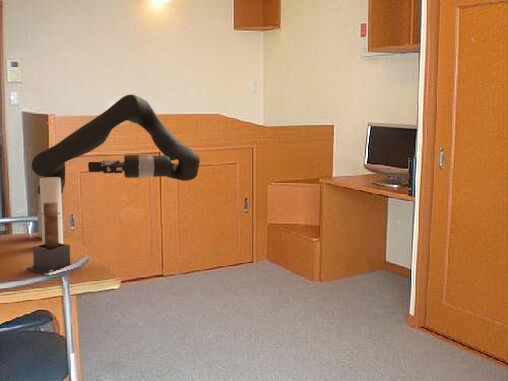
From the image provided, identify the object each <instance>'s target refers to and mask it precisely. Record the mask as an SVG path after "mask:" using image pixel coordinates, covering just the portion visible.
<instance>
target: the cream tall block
mask: <svg viewBox="0 0 508 381" xmlns="http://www.w3.org/2000/svg"><path fill="white" fill-rule="evenodd" d="M39 185H40V198H41V221H42V239H41V240H42V242H41V243H42V244H45V228H44V203H47V202H56V203H57V215H58V243H61V244H64V237H63V224H62V198H61V178H59V177H45V178H44V177H41V178H39Z"/></svg>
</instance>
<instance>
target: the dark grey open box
mask: <svg viewBox="0 0 508 381" xmlns="http://www.w3.org/2000/svg"><path fill="white" fill-rule="evenodd" d="M32 258H33V265H30V266H27V267H25V270H27V272H31V271H32V272H31V273H35V272H36V274H39V273H41V274H40V275H43V274H42V273H49V272H53V271H56V270H59V269H61V268H64V267H66V266H69V265H71V264H73V263H72V262H71V246H70V244H67V243H63V244H61V243H59V247H57V248H53V249H46V248H45V244H43V243H42V244H39V245H35V246H34V245H33V246H32Z"/></svg>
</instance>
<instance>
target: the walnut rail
mask: <svg viewBox="0 0 508 381" xmlns="http://www.w3.org/2000/svg"><path fill="white" fill-rule="evenodd" d="M44 228H45V248H46V249H53V248H57V247H59V243H58V215H57V203H56V202H47V203H44Z"/></svg>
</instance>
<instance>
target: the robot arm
mask: <svg viewBox="0 0 508 381" xmlns="http://www.w3.org/2000/svg"><path fill="white" fill-rule="evenodd" d="M127 121H128V122H131V123H134V124H137V125H138V126H140V127H141V128H142V129H144V130H145V131H146V132H147V133H148V134H149V135H150V137H151V139H152V142H153V143H154V145H155V146H156V148H158V150H159V151H160V152H161V153H162V155H148V154H125V155H124V157H123V161H122V162H121V160H117V159H114V160H112V159H111V160H104V159H103V160H101V161H89V162H88V163H87V164H88V166H87V168H88V172H89V173H102V174H123V175H124V178H126V179H135V178H136V179H137V178H138V179H140V178H154V177H155V178H157V177H160V178H161V177H166V178H170V179H174V180H179V181H183V182H187V181H192V180H194V179H195V178H197V176H198V174H199V169H200V163H201V162H200V161H201V160H200V157H199V155H198V153H197V152H196V151H195V150H194V149H192V148H190V147H188V146H187V145H185V144H183V143H182V142H181V141H180V140H179V139H178V138H177V137H176V136H175V135H174V134H173V133H172V132H171V131H170V129H169V128H167V127H166V125H164V123H163V122H162V120H160V119H159V117H158V116H157V113H156V112H155V111H154V109H153V108H152V106H151V105H150V103H149V102H148V101H147V100H146V99H144V98H142V97H140V96H137V95H135V94H126V95H124V96H122V97H121V98H120V99H118V100H117V101H116V102H115V103H114V104H113V105H111V106H110V107H109V108H107V110H105V111H104V112H102V113H100V114H99V115H97V116H95V118H93V119H92V120H90V121H88V122H87V123H85V124H83V125H82V126H81V127H79V128H77V129H76V130H75V131H74V132H72V133H70V134H69V135H67V136H66V137H65V138H64V139H62V140H60V142H58V143H57V144H55V145H53V146H51V147H49V148H47V149H45V150H43V151H41V152H38V153H37V154H36V155H35V156H34V157H33V159H32V161H31V170H32V171H33V173H35V175H37V176H40V177H43V178H45V177H59V178H61V198H62V224H63V238H65V237H66V233H65V232H66V231H65V229H66V228H65V226H66V225H65V224H66V223H65V207H64V206H65V203H64V188H65V184H66V163H67V162H68V161H70V160H74V159H75V158H79V157H81V156H83V155H85V154H88V153H90V152H92V151H93V150H95V149H97V148H98V147H99V146H102V145H103V144H104V143H105V142H106V140H107V139H108V138H109V136H110V133H111V132H112V130H113V129H114V128H115V127H117V126H118V125H120V124H122V123H125V122H127ZM176 160H177V161H178V162H177V163H173V162H172V161H176ZM37 201H38V204H37V205H38V212H37V213H36V214H37V215H36V216H37V218H36V220H37V237H38V238H39V239H40V240H42V221H41V198H40V184H38V187H37Z"/></svg>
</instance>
